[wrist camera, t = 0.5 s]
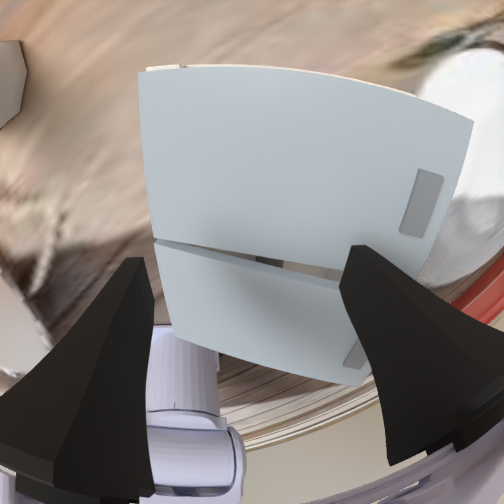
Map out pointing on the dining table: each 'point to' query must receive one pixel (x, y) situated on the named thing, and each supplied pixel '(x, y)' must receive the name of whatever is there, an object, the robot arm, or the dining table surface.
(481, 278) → the plant saucer
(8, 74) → the flask
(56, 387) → the robot arm
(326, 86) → the cover
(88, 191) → the dining table surface
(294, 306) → the cover
